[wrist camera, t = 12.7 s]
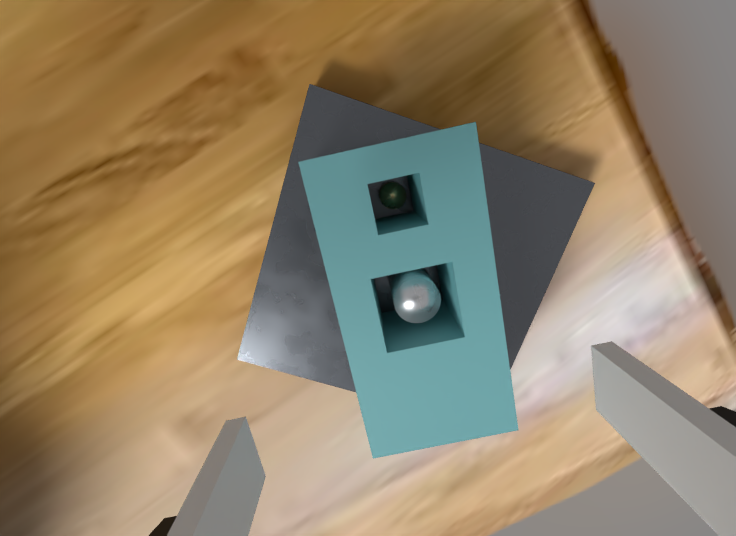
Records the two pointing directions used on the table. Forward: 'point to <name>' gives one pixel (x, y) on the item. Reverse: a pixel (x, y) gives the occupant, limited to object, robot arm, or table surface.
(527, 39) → the table surface
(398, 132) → the base
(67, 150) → the table surface
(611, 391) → the robot arm
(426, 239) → the teal block with holes
